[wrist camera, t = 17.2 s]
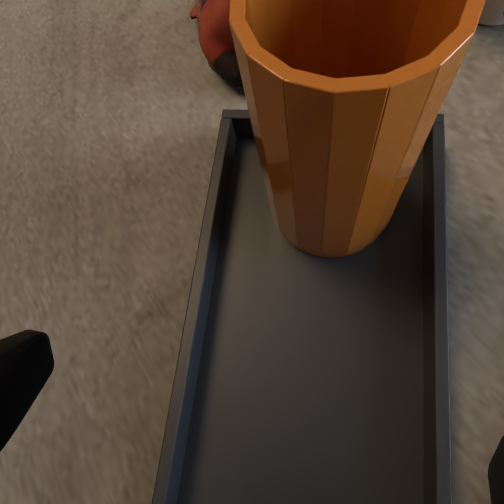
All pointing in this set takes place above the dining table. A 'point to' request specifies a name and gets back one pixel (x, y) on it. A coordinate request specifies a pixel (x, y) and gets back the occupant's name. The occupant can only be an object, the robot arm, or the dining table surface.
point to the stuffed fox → (217, 37)
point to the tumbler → (344, 105)
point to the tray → (311, 352)
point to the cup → (492, 13)
